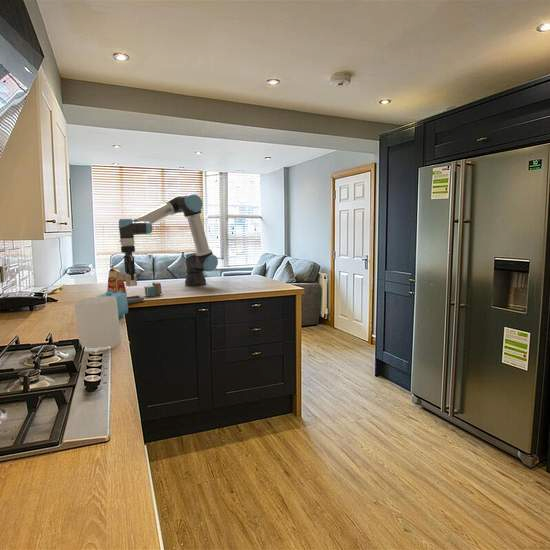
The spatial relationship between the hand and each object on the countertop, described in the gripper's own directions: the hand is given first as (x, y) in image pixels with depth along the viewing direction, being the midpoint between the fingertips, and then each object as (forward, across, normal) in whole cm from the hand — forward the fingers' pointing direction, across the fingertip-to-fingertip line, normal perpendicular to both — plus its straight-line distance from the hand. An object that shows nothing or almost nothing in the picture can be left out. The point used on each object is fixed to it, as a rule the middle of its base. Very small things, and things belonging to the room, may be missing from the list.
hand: (131, 284), depth 228 cm
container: (+11, +75, -33) cm, 83 cm away
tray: (+10, 0, 0) cm, 10 cm away
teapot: (+10, +34, -19) cm, 40 cm away
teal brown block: (+10, -10, +16) cm, 21 cm away
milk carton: (+10, -21, -4) cm, 24 cm away
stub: (0, 0, 0) cm, 0 cm away
